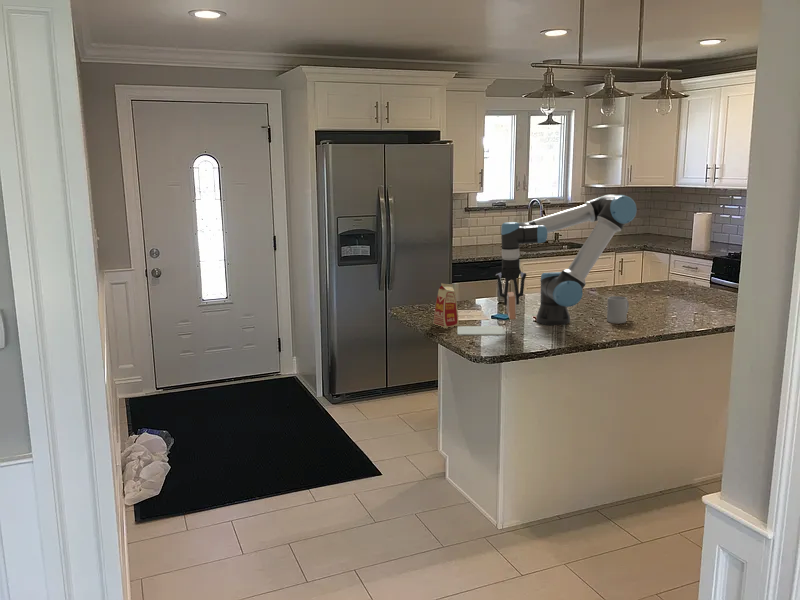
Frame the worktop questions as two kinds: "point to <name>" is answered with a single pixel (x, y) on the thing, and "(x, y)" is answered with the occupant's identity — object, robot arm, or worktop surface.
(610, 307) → the mug
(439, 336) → the worktop surface
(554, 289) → the robot arm
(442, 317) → the milk carton
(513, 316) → the tile
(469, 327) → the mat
